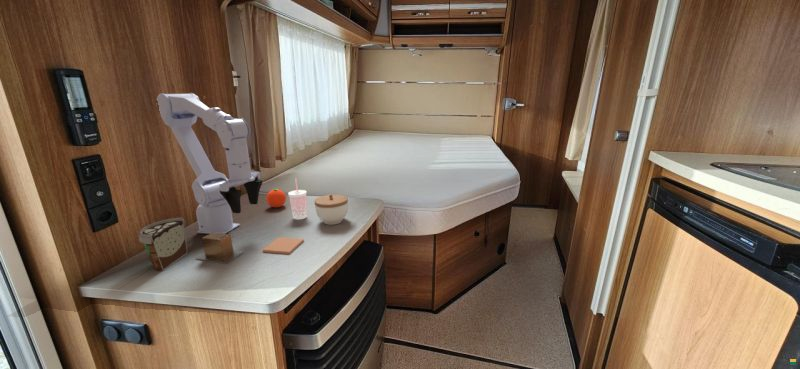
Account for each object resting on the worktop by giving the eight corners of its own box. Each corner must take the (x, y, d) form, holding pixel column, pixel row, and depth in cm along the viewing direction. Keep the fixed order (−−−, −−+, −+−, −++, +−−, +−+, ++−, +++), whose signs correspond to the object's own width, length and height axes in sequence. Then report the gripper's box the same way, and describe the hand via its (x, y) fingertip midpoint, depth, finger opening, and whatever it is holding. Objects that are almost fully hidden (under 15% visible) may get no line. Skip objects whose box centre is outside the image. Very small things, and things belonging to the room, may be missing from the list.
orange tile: (262, 249, 90) (289, 251, 88) (278, 237, 97) (303, 239, 96) (263, 253, 90) (289, 255, 88) (279, 240, 98) (303, 242, 96)
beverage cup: (311, 217, 114) (307, 178, 110) (293, 221, 111) (289, 181, 107) (305, 212, 119) (301, 175, 115) (288, 216, 116) (284, 177, 112)
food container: (169, 250, 92) (161, 217, 89) (191, 250, 92) (184, 216, 89) (133, 274, 80) (123, 236, 77) (158, 274, 80) (149, 236, 77)
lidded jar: (347, 226, 106) (345, 199, 103) (313, 228, 105) (310, 200, 103) (350, 214, 116) (348, 189, 113) (319, 216, 115) (317, 190, 113)
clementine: (271, 203, 130) (268, 186, 128) (289, 202, 130) (287, 185, 128) (265, 210, 122) (262, 192, 120) (284, 209, 123) (282, 191, 121)
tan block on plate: (195, 260, 87) (191, 239, 85) (214, 249, 92) (210, 230, 91) (226, 264, 84) (223, 243, 82) (243, 253, 90) (240, 233, 88)
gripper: (232, 168, 85) (240, 217, 89) (266, 158, 99) (272, 201, 102) (209, 168, 87) (218, 216, 90) (246, 157, 100) (252, 199, 104)
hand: (245, 208), depth 97 cm, fingers open, 7 cm apart
